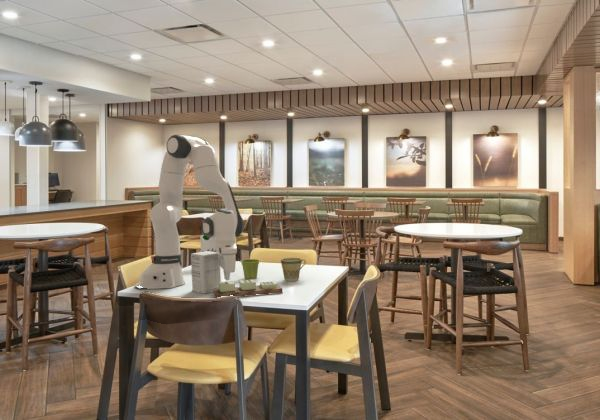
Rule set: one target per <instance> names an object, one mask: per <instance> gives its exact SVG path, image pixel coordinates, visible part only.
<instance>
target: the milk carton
mask: <svg viewBox="0 0 600 420" xmlns="http://www.w3.org/2000/svg"><path fill="white" fill-rule="evenodd" d="M199 238H200V252H205V251H211V252H216V251H215V239H216V238H208V237H207V236H206V235H205V234H204V233H203V234H202V235H200V237H199Z"/></svg>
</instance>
